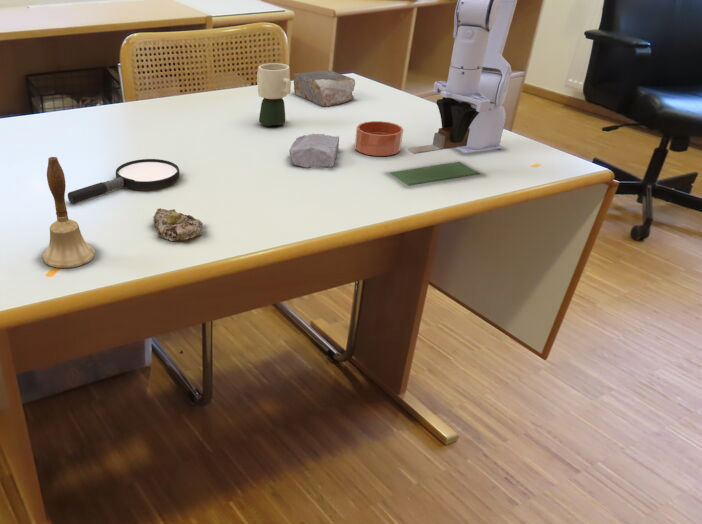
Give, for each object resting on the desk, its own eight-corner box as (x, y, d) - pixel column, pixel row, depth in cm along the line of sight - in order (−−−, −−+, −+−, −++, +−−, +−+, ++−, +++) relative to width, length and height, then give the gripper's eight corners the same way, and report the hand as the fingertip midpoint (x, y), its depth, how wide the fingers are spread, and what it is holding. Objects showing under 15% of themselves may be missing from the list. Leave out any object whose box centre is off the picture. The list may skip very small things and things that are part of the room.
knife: (458, 142, 136) (462, 124, 134) (466, 146, 134) (470, 128, 132) (406, 149, 132) (409, 132, 130) (414, 154, 131) (416, 136, 129)
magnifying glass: (53, 194, 130) (51, 183, 128) (153, 163, 143) (153, 152, 141) (90, 214, 122) (88, 202, 121) (192, 179, 135) (191, 168, 134)
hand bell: (32, 263, 107) (13, 164, 98) (60, 241, 114) (45, 146, 104) (78, 272, 105) (63, 171, 96) (104, 249, 111) (92, 152, 102)
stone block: (289, 174, 141) (337, 168, 139) (285, 151, 139) (334, 144, 136) (296, 157, 151) (341, 150, 148) (292, 135, 148) (339, 128, 146)
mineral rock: (217, 219, 114) (179, 220, 109) (212, 244, 116) (175, 246, 111) (178, 202, 121) (141, 202, 116) (175, 226, 123) (138, 226, 118)
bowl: (384, 140, 153) (387, 119, 150) (408, 154, 146) (411, 132, 143) (346, 146, 150) (348, 124, 147) (368, 160, 143) (371, 137, 140)
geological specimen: (326, 68, 186) (360, 77, 174) (324, 92, 189) (357, 102, 178) (292, 72, 181) (325, 81, 170) (291, 96, 185) (323, 107, 173)
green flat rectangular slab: (458, 163, 141) (459, 161, 141) (480, 175, 136) (481, 173, 136) (389, 174, 137) (389, 172, 137) (408, 187, 131) (409, 185, 131)
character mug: (298, 126, 161) (302, 68, 154) (276, 133, 158) (279, 73, 150) (267, 116, 168) (269, 59, 160) (245, 122, 164) (246, 64, 157)
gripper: (425, 58, 130) (413, 130, 138) (472, 77, 119) (457, 154, 127) (456, 55, 132) (443, 126, 140) (506, 73, 121) (488, 149, 129)
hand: (452, 139), depth 133 cm, fingers closed on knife, 2 cm apart
